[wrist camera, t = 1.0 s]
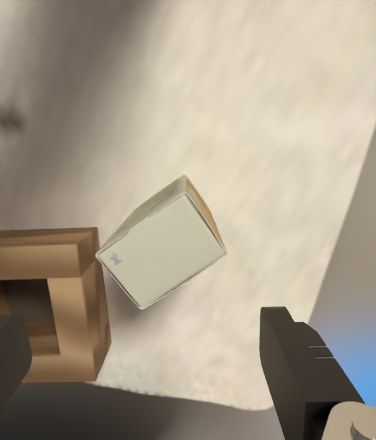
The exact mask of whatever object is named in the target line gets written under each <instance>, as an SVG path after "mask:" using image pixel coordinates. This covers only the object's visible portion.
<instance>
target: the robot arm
mask: <svg viewBox="0 0 376 440" xmlns="http://www.w3.org/2000/svg"><path fill="white" fill-rule="evenodd" d="M259 349H260V359H261V365H262V368H263V372H264V375H265V378H266V381H267V384H268V387H269V390H270V394H271V397H272V400H273V403H274V406H275V409H276V412H277V416H278V419H279V422H280V425H281V428H282V431H283V434H284V437H285V440H376V409H375V408H373V407H371V406H369V405H366V404H365V402H364V401H363V399H362V398H361V397H360V395H359V394H358V392H357V391H356V389H355V388H354V386H353V385H352V383H351V382H350V380H349V379H348V377H347V376H346V374H345V373H344V371H343V370H342V368H341V367H340V365H339V364H338V362H337V361H336V359H334V358H333V355H332V353H331V352H330V350H329V349H328V348H326V345H325V343H324V341H323V340H322V338H321V337H320V335H319V334H318V332H316V331H315V330H314V329H312V328H311V327H310V326H308V325H307V324H306V323H304V322H294V320H293V319H292V317H291V315H290V313H289V312H288V310H287V308H286V307H262V308H261V313H260V345H259ZM31 362H32V350H31V346H30V341H29V337H28V332H27V328H26V323H25V319H24V317H23V316H22V315H20V314H7V315H0V411H1V410H2V408H3V407H4V405H5V404H6V402H7V401H8V399H9V398H10V397H11V395H12V394H13V393H14V391H15V390H16V388H17V387H18V386H19V384H20V383H21V381H22V380H23V379H24V377H25V376H26V374H27V373H28V371H29V369H30V366H31Z"/></svg>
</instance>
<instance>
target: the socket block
mask: <svg viewBox="0 0 376 440" xmlns="http://www.w3.org/2000/svg"><path fill="white" fill-rule="evenodd" d="M99 250H100V246H99V238H98V230H97V227H92V228H65V229H37V230H9V231H0V315H7V314H20V315H22V316H23V317H24V319H25V323H26V328H27V332H28V337H29V341H30V346H31V350H32V362H31V366H30V369H29V371H28V373H27V374H26V376H25V377H24V379H23V380H22V381H21V383H43V382H44V383H45V382H84V381H96V379H97V376H98V374H99V371H100V369H101V367H102V364H103V362H104V359H105V357H106V354H107V352H108V349H109V347H110V345H111V335H110V327H109V318H108V310H107V302H106V294H105V286H104V278H103V270H102V264H101V262H100V261H99V260H98V259H97V258H96V256H95V254H96V253H97V252H98V251H99Z"/></svg>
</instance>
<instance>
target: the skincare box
mask: <svg viewBox="0 0 376 440" xmlns="http://www.w3.org/2000/svg"><path fill="white" fill-rule="evenodd" d="M226 254H227V251H226V249H225V246H224V244H223V242H222V239H221V237H220V234H219V232H218V229H217V227H216V224H215V222H214V220H213V217H212V215H211V212H210V210H209V208H208V206H207V205H206V203H205V202H204V200H203V199H202V197H201V196H200V194H199V193H198V191H197V190H196V188H195V187H194V186H193V184H192V183H191V181H190V180H189V178H188V177H187V176H186V175H183V176H181V177H180V178H178V179H177V180H175V181H174V182H172V183H171V184H169V185H168V186H167V187H165V188H164V189H162V190H161V191H160V192H158V193H157V194H155V195H154V196H153V197H151V198H150V199H149V200H147V201H146V202H145V203H143V204H142V205H141V206H139V207H138V208H137V209H136V210H134V212H133V213H132V214H131V215H130V216H129V217H128V218H127V219H126V221H125V222H124V223H123V224H122V225H121V226H120V227H119V228H118V229H117V231H116V232H115V233H114V234H113V235H112V236H111V237H110V238H109V239H108V240H107V242H106V243H105V244H104V245H103V246H102V247H101V248H100V250H99V251H98V252H97V253H96V254H95V256H96V258H97V259H98V260H99V261H100V262H101V264H102V265H103V266H104V268H105V269H106V270H107V271H108V272H109V274H110V275H111V276H112V278H113V279H114V280H115V281H116V282H117V284H118V285H119V286H120V287H121V288H122V290H123V291H124V292H125V293H126V294H127V296H128V297H129V298H130V299H131V300H132V301H133V302H134V303H135V304H136V305H137V307H138V308H139V309H145V308H146V307H148V306H150V305H152V304H154V303H155V302H157V301H159V300H160V299H162V298H164V297H165V296H167V295H168V294H170V293H171V292H173V291H174V290H176V289H177V288H179V287H181V286H182V285H183V284H185V283H187V282H188V281H190V280H191V279H193V278H194V277H195V276H197V275H198V274H200V273H201V272H203V271H204V270H206V269H207V268H208V267H210V266H211V265H213V264H214V263H216V262H217V261H218V260H220V259H221V258H222V257H224V256H225V255H226Z"/></svg>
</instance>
